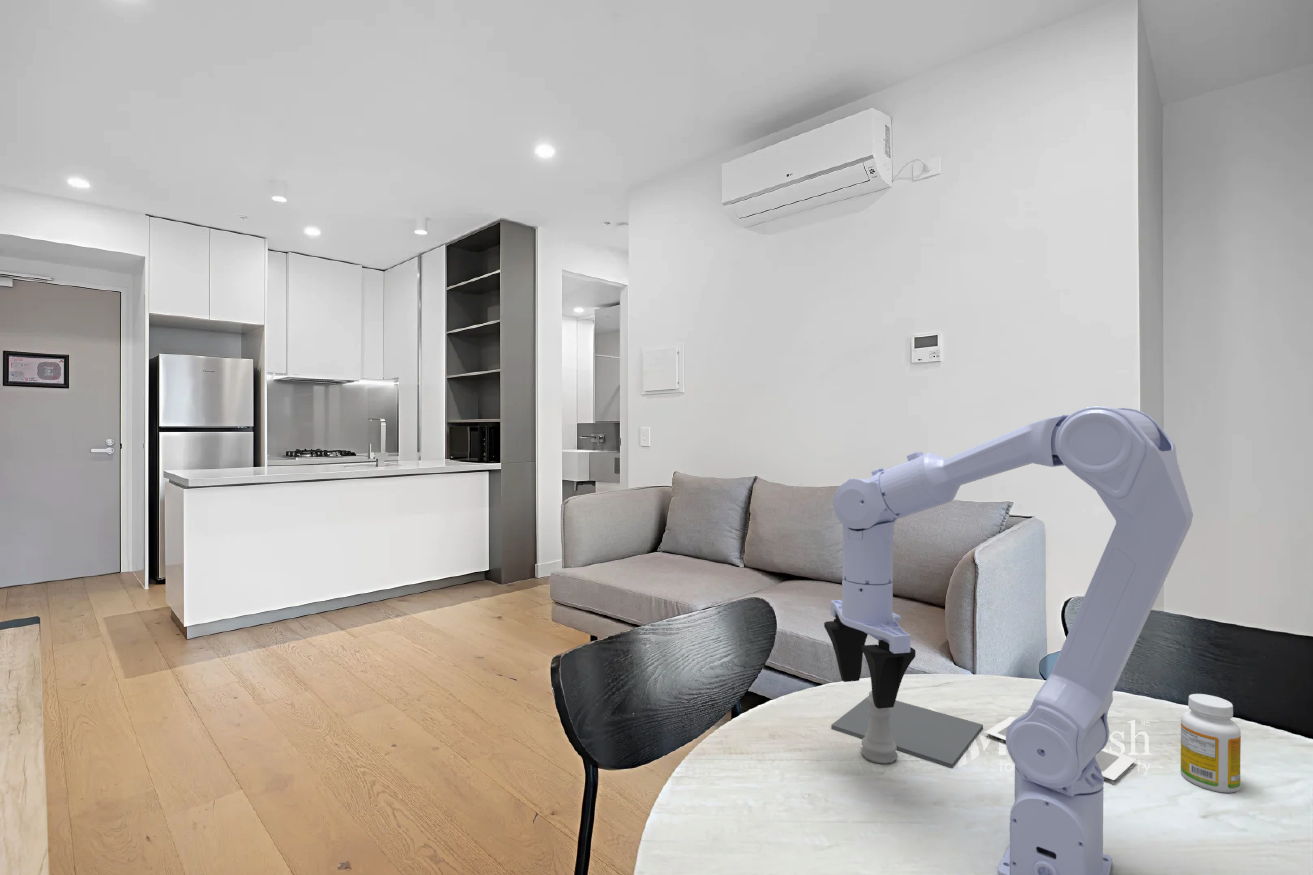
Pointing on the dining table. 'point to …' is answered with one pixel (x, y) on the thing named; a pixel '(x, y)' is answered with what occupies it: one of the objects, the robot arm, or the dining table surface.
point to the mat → (917, 731)
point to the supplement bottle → (1210, 744)
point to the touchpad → (1107, 759)
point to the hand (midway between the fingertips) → (866, 692)
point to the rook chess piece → (878, 736)
